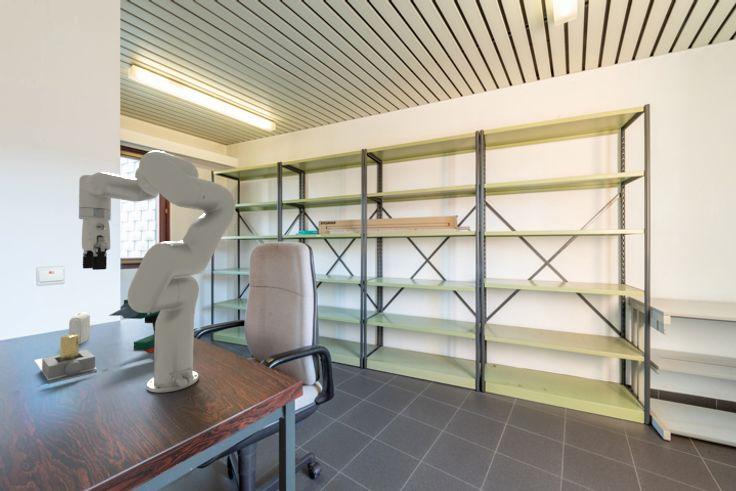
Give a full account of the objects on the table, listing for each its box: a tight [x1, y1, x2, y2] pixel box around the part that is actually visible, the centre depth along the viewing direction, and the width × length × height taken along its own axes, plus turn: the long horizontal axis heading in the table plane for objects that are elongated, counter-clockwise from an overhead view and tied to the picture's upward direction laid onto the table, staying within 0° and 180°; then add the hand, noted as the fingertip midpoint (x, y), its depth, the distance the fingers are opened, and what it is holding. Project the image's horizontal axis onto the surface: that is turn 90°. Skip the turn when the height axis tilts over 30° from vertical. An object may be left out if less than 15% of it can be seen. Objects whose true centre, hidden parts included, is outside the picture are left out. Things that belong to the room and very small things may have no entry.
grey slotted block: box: [33, 349, 97, 385], centre depth 95 cm, size 25×10×5 cm, turn 54°
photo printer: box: [68, 311, 91, 345], centre depth 118 cm, size 10×4×12 cm, turn 28°
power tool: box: [108, 298, 161, 354], centre depth 113 cm, size 32×7×20 cm, turn 179°
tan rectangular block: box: [59, 334, 80, 362], centre depth 92 cm, size 4×4×10 cm
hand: (94, 268), depth 95 cm, fingers open, 9 cm apart
